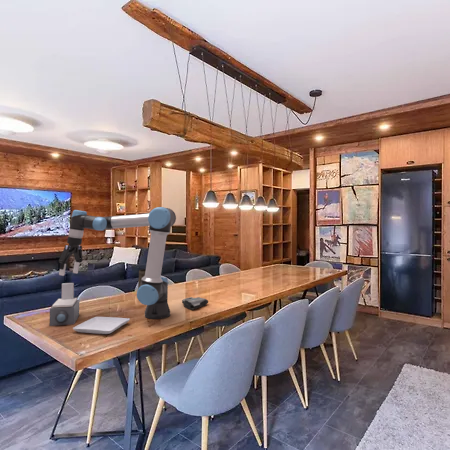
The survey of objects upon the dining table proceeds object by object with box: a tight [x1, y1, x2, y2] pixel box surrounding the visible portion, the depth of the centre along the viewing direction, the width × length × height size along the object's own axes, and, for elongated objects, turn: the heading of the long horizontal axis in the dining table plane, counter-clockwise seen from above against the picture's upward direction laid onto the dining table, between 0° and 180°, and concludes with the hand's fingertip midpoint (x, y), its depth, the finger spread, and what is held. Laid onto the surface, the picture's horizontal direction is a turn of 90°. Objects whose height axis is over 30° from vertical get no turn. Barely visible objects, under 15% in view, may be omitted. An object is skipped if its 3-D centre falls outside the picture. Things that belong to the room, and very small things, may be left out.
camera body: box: [49, 299, 80, 327], centre depth 181 cm, size 20×12×9 cm, turn 16°
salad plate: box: [72, 316, 131, 335], centre depth 169 cm, size 21×21×3 cm
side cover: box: [51, 282, 78, 307], centre depth 182 cm, size 16×10×10 cm, turn 16°
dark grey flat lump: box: [181, 296, 209, 311], centre depth 216 cm, size 16×20×5 cm
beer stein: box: [137, 268, 146, 289], centre depth 245 cm, size 15×11×20 cm
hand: (68, 274), depth 183 cm, fingers open, 13 cm apart
